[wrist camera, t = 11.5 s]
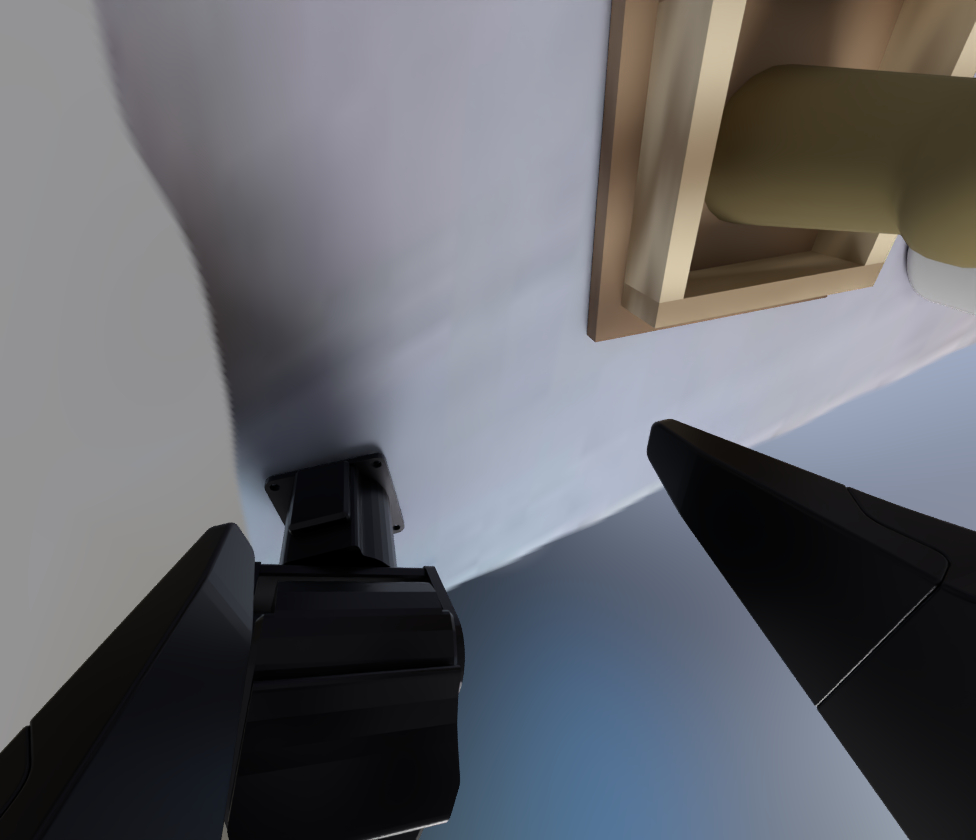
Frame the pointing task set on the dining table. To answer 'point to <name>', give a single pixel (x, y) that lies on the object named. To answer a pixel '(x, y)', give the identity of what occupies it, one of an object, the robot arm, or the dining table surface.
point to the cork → (852, 156)
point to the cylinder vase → (942, 282)
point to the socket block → (692, 140)
